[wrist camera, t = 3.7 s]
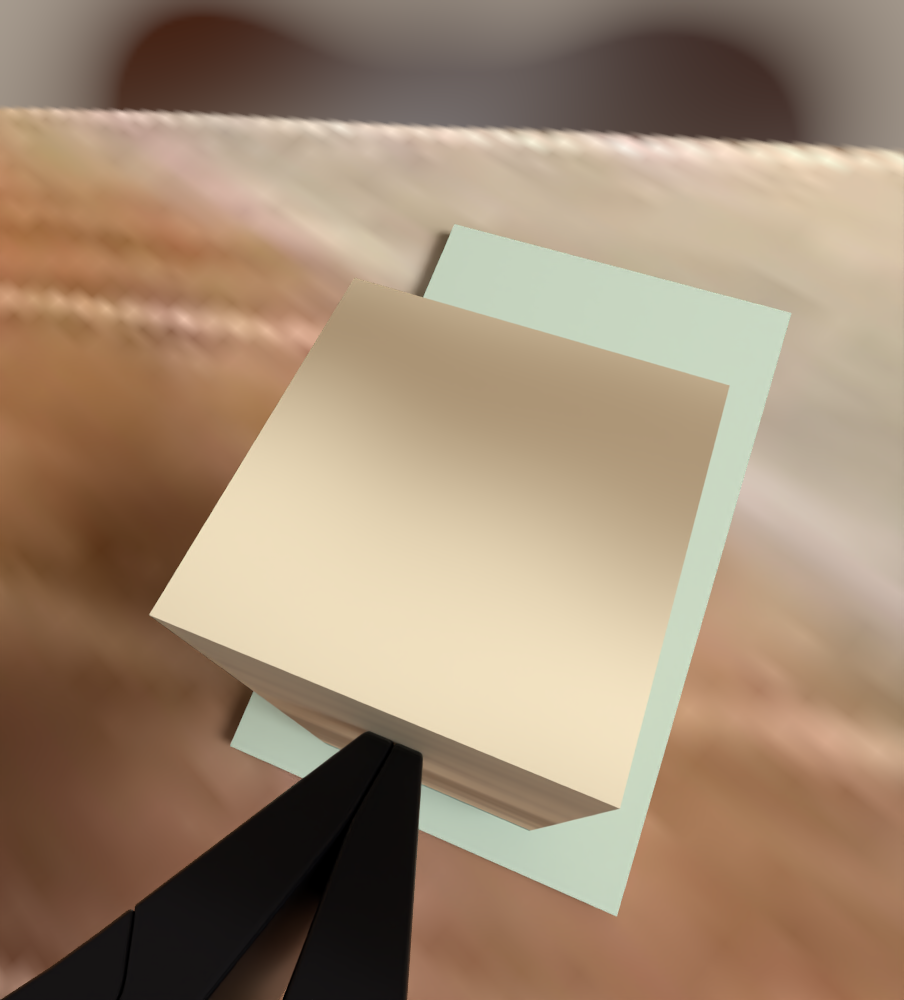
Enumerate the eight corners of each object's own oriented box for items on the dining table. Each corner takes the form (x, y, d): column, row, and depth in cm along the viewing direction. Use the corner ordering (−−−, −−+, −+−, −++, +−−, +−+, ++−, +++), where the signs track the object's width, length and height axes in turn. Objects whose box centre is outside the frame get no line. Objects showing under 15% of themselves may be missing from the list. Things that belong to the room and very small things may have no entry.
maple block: (529, 830, 15) (619, 807, 6) (326, 744, 16) (149, 614, 7) (593, 625, 17) (729, 385, 8) (410, 558, 18) (354, 277, 9)
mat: (613, 909, 16) (616, 916, 15) (238, 744, 18) (230, 745, 17) (784, 322, 19) (791, 312, 19) (456, 234, 21) (454, 224, 21)
